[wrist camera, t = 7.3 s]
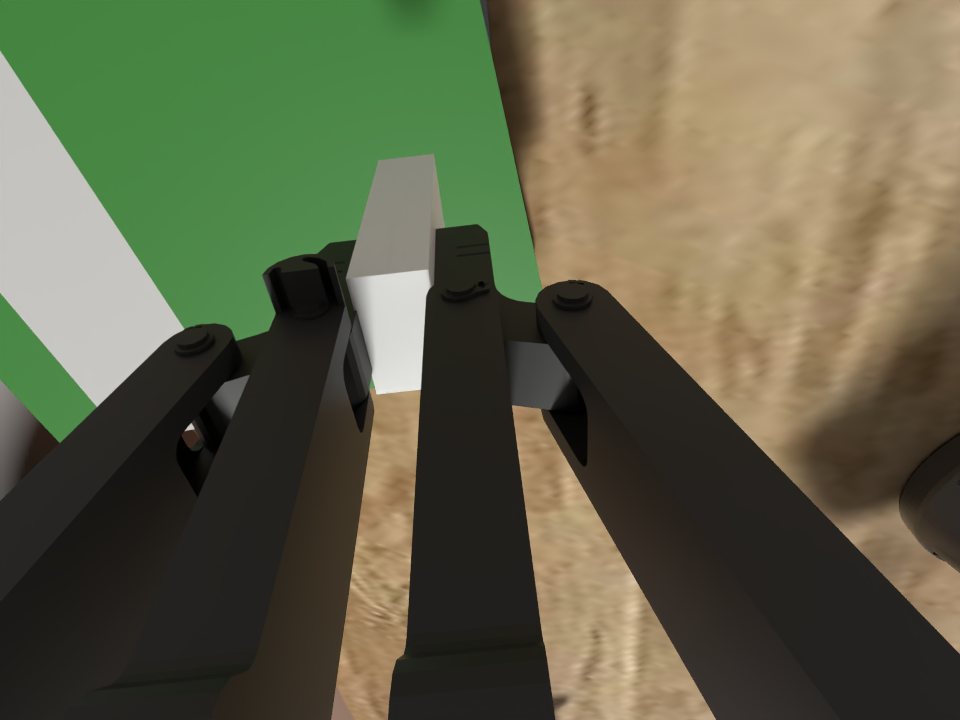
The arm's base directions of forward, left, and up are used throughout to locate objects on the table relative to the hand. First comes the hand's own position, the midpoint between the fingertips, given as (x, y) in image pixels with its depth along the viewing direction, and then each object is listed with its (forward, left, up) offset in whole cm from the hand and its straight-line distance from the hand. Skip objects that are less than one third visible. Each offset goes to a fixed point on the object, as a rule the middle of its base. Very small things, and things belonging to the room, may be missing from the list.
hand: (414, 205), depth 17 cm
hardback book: (-3, +1, -9) cm, 10 cm away
